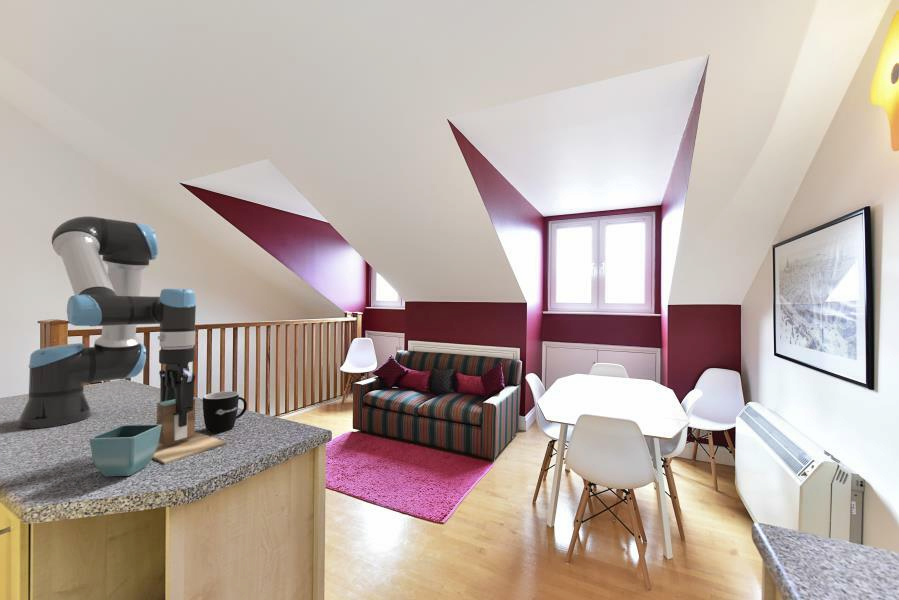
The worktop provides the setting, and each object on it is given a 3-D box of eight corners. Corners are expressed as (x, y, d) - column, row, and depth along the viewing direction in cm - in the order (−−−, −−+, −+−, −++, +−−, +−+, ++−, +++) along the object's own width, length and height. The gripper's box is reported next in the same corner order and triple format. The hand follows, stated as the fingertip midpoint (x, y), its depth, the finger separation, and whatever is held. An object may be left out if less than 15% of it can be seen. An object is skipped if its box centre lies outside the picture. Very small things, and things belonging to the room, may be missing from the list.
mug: (211, 437, 101) (212, 400, 101) (196, 430, 105) (196, 395, 106) (254, 425, 111) (254, 391, 111) (238, 419, 116) (239, 388, 116)
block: (156, 442, 93) (157, 402, 93) (186, 433, 99) (187, 396, 99) (164, 444, 91) (164, 404, 91) (194, 436, 97) (195, 398, 97)
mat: (130, 448, 92) (130, 446, 92) (191, 431, 104) (191, 430, 104) (164, 464, 83) (164, 461, 83) (226, 444, 96) (226, 442, 96)
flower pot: (121, 463, 84) (122, 424, 84) (162, 462, 84) (162, 423, 85) (86, 482, 75) (87, 438, 75) (132, 480, 76) (133, 437, 76)
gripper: (144, 346, 96) (143, 435, 96) (177, 351, 88) (175, 448, 87) (177, 344, 103) (175, 427, 102) (210, 348, 94) (209, 438, 94)
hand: (175, 436), depth 95 cm, fingers closed on block, 4 cm apart
